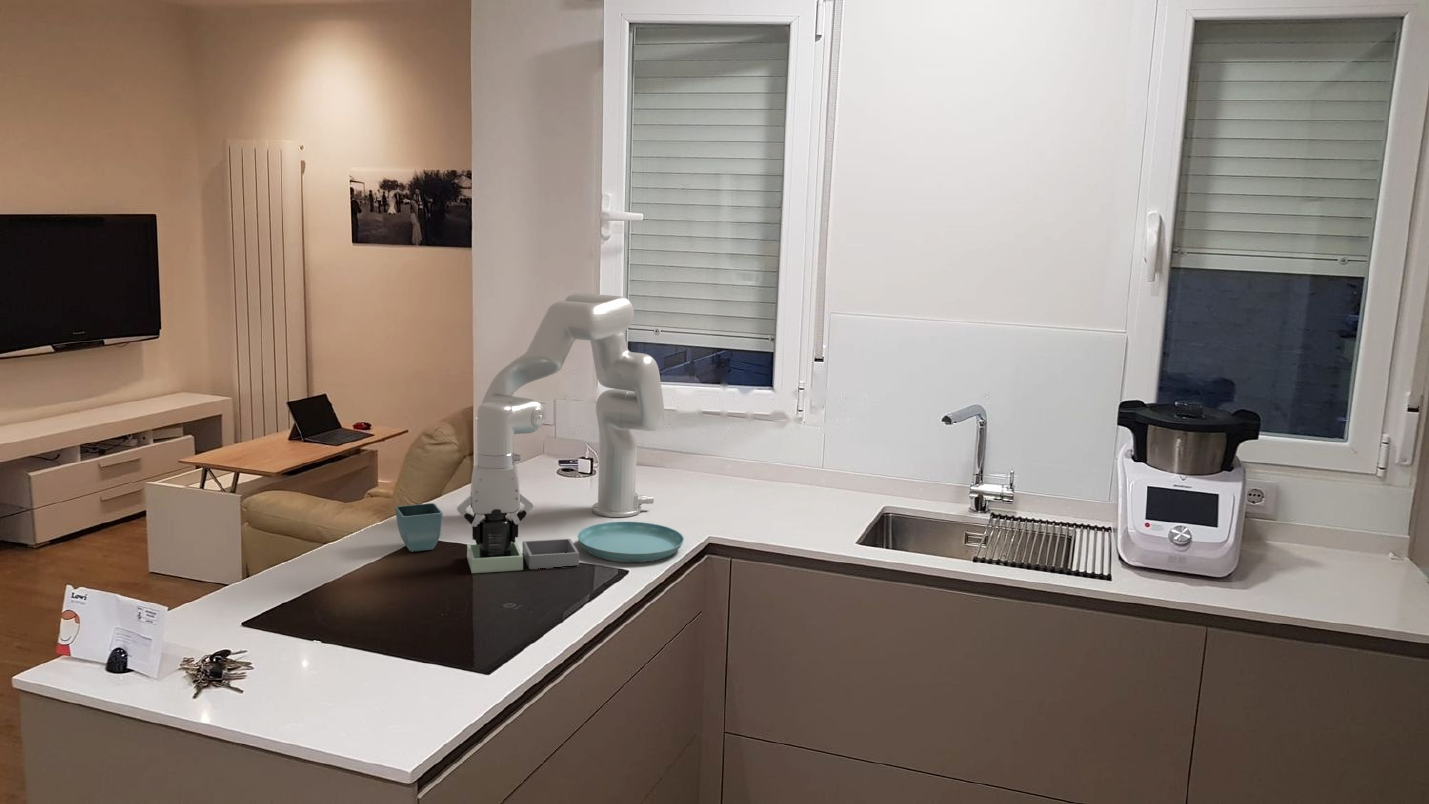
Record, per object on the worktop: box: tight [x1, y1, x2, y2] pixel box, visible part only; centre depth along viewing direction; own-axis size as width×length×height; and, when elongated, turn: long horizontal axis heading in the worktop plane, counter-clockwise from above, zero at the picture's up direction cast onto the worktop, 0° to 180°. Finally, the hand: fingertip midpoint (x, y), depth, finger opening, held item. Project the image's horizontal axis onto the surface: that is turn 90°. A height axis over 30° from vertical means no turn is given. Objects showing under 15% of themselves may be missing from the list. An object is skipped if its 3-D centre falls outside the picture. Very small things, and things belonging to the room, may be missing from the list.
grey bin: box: [522, 538, 580, 570], centre depth 230 cm, size 11×11×3 cm
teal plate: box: [577, 521, 685, 563], centre depth 240 cm, size 24×24×3 cm
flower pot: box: [394, 502, 444, 553], centre depth 234 cm, size 9×9×9 cm
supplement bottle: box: [479, 509, 512, 558], centre depth 225 cm, size 7×7×12 cm
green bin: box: [466, 541, 524, 574], centre depth 226 cm, size 11×11×3 cm
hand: (495, 541), depth 226 cm, fingers closed on supplement bottle, 6 cm apart
